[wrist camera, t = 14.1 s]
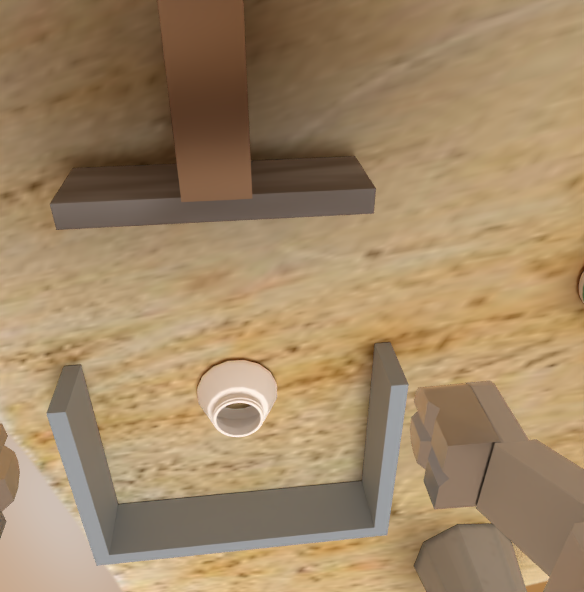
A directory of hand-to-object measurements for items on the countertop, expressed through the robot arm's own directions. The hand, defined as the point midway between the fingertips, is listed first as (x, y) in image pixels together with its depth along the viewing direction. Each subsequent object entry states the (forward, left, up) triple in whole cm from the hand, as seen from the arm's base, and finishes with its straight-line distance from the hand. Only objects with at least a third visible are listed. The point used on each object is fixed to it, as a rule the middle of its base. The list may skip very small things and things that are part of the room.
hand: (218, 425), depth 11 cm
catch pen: (+20, 0, -19) cm, 28 cm away
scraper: (-2, 0, -19) cm, 19 cm away
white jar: (+16, 0, -20) cm, 25 cm away
